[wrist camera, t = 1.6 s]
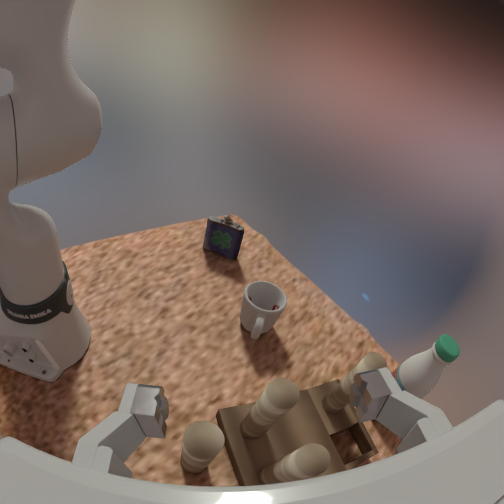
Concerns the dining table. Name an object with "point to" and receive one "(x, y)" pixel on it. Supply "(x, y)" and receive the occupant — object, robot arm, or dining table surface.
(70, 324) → the robot arm
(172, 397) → the dining table surface
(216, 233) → the flask
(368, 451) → the stool
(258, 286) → the cup
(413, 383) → the milk bottle
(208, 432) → the loose leg
